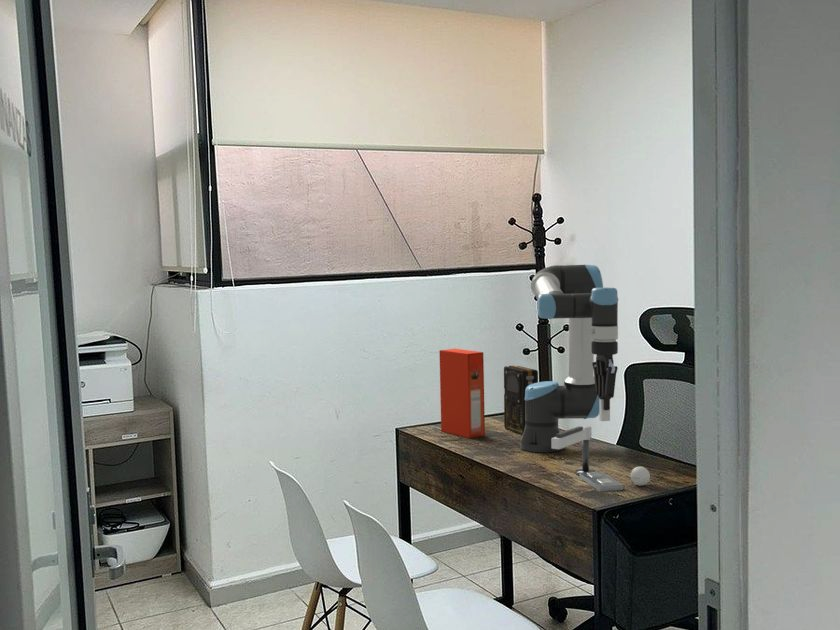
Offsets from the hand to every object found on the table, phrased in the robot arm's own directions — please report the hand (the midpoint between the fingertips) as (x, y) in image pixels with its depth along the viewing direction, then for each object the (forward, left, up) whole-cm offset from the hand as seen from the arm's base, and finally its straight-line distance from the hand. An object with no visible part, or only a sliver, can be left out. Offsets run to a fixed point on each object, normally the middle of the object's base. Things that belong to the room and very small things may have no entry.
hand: (604, 420), depth 253 cm
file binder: (-85, -22, -20) cm, 90 cm away
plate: (-3, 0, -20) cm, 20 cm away
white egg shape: (+2, +11, -20) cm, 23 cm away
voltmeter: (-83, +1, -20) cm, 85 cm away
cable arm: (-9, -6, -9) cm, 14 cm away
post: (-15, 0, -20) cm, 25 cm away
